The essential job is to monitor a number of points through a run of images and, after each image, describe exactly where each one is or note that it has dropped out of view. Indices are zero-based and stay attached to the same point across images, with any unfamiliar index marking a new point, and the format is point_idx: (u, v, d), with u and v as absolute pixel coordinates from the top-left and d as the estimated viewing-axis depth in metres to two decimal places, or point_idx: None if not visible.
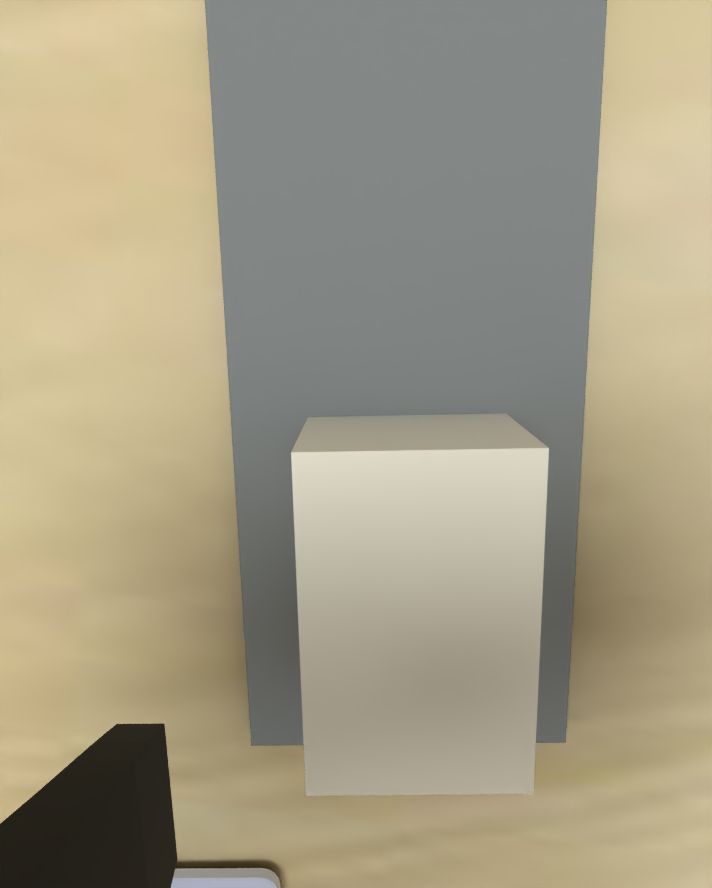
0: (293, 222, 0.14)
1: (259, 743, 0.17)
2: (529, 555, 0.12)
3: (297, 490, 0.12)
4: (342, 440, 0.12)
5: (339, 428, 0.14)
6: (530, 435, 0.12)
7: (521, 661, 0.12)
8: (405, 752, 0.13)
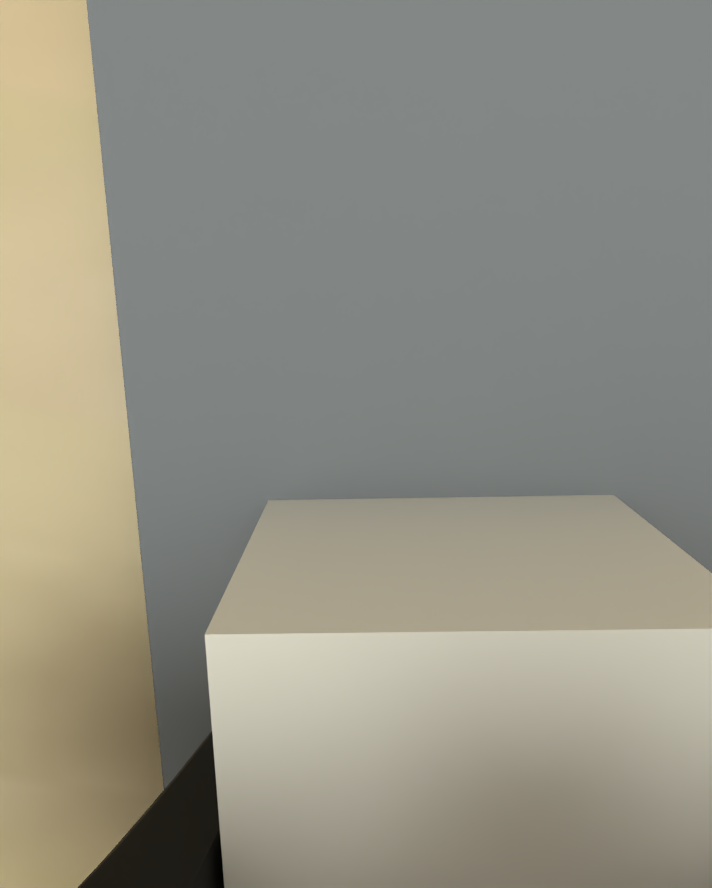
0: (237, 155, 0.08)
1: None
2: None
3: (220, 713, 0.05)
4: (323, 584, 0.06)
5: (320, 538, 0.07)
6: (703, 571, 0.06)
7: None
8: None
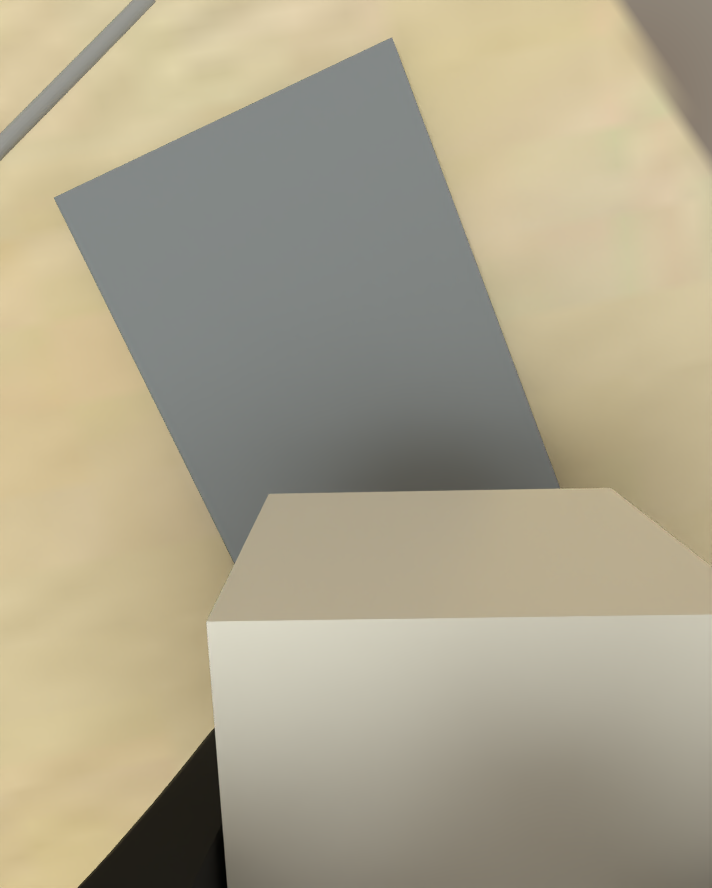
0: (223, 390, 0.15)
1: None
2: None
3: (222, 699, 0.05)
4: (321, 574, 0.06)
5: (319, 529, 0.07)
6: (697, 560, 0.06)
7: None
8: None
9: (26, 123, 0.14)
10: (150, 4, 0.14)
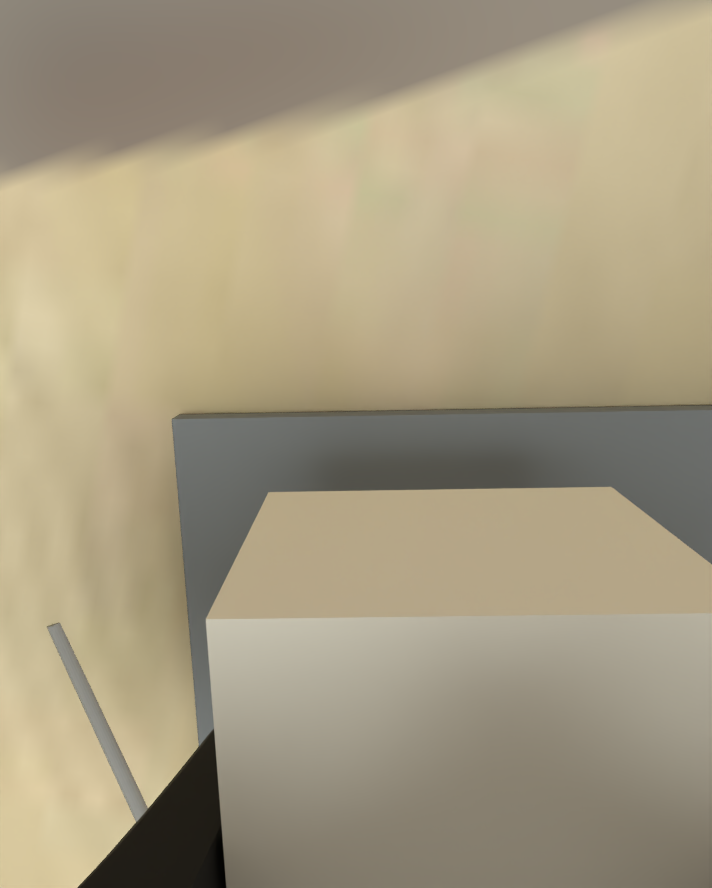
0: None
1: None
2: None
3: (221, 697, 0.05)
4: (322, 573, 0.06)
5: (319, 528, 0.07)
6: (698, 559, 0.06)
7: None
8: None
9: (127, 781, 0.14)
10: None
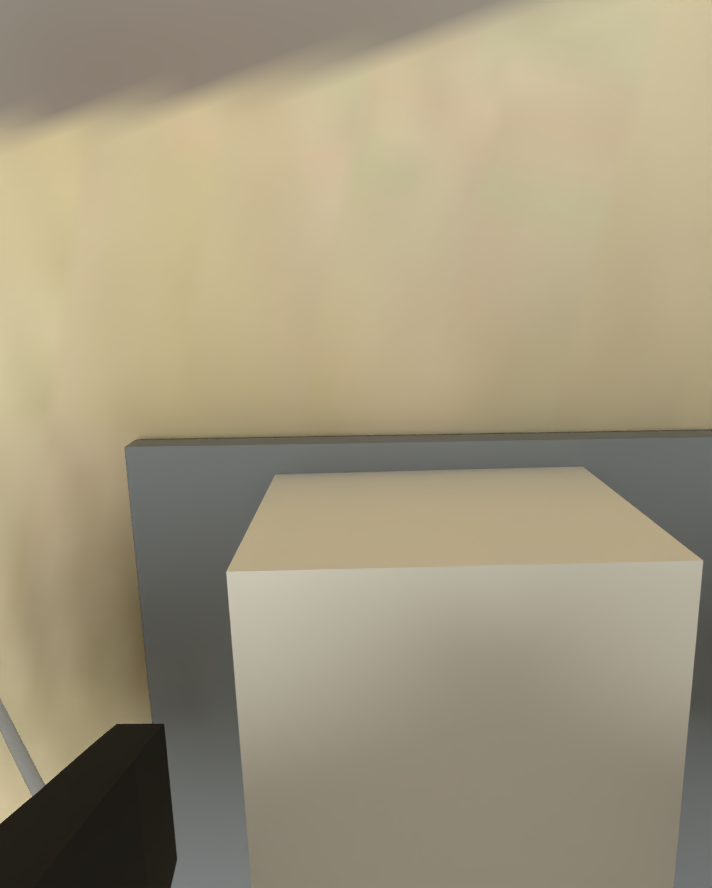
0: None
1: None
2: (659, 746, 0.07)
3: (240, 638, 0.06)
4: (324, 536, 0.07)
5: (321, 502, 0.08)
6: (648, 522, 0.07)
7: None
8: None
9: None
10: None
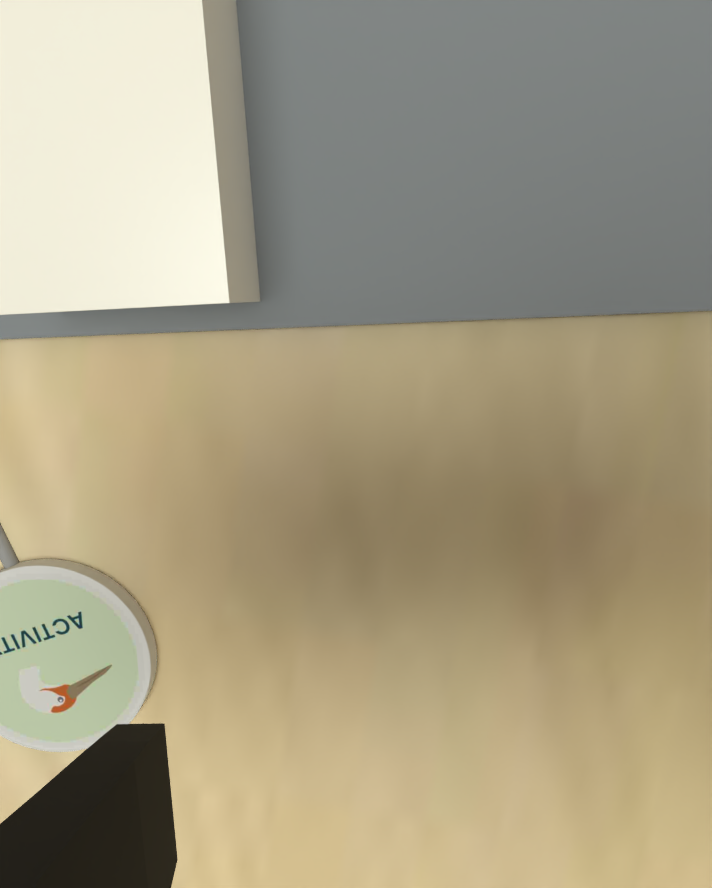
0: None
1: None
2: None
3: None
4: None
5: None
6: None
7: (192, 120, 0.11)
8: (75, 252, 0.11)
9: None
10: None
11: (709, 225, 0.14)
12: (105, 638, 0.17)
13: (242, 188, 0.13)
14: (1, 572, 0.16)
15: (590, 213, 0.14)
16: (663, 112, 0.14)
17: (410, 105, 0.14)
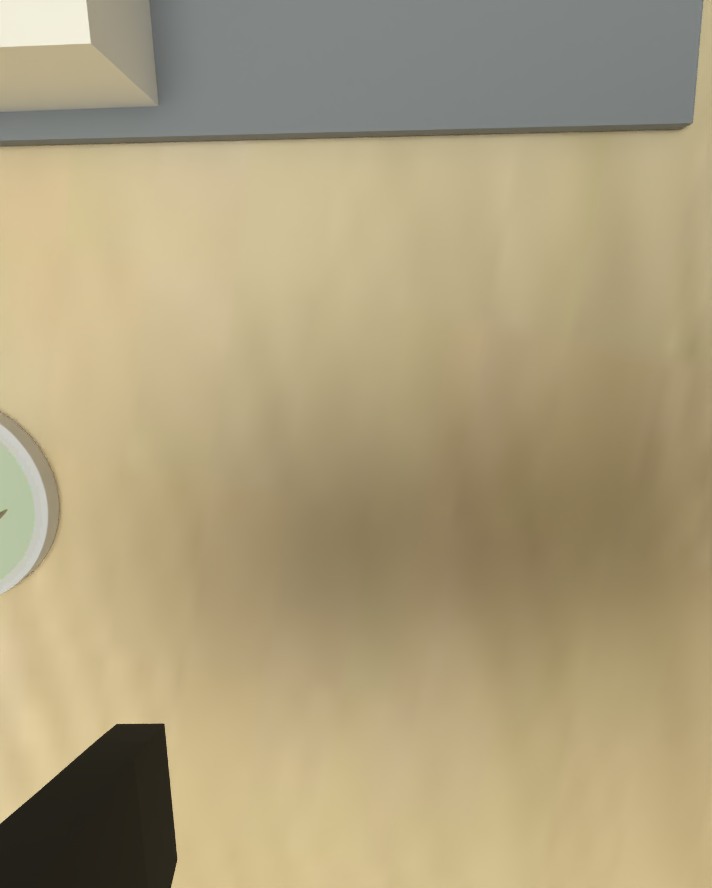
0: None
1: (691, 114, 0.14)
2: None
3: None
4: None
5: None
6: None
7: None
8: None
9: None
10: None
11: (632, 29, 0.13)
12: (0, 480, 0.16)
13: None
14: None
15: (506, 13, 0.13)
16: None
17: None
